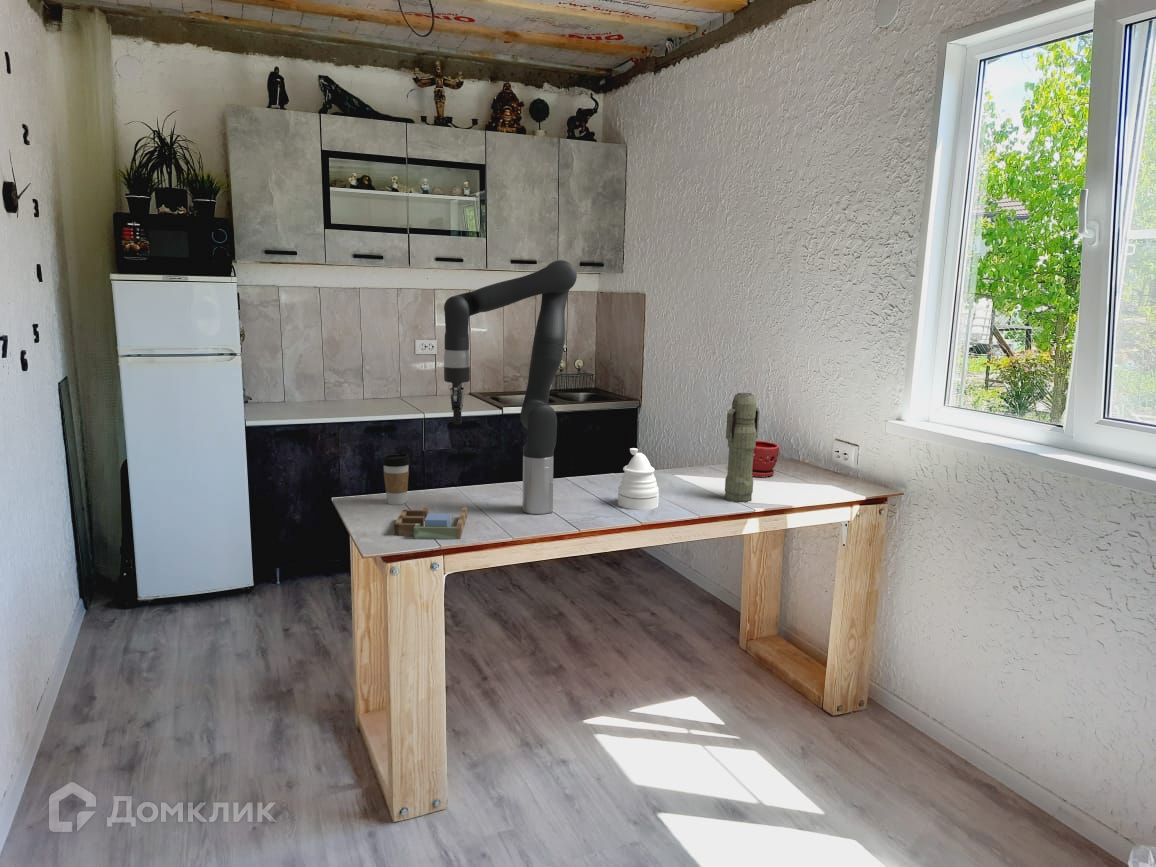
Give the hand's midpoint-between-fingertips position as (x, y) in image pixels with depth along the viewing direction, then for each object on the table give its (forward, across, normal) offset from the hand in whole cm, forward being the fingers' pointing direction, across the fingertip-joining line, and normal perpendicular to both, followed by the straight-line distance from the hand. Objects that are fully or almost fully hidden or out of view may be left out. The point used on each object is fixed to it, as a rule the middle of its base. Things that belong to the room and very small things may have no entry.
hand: (457, 423), depth 231 cm
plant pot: (+28, +52, -107) cm, 122 cm away
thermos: (+27, +17, -90) cm, 96 cm away
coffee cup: (+27, +10, +20) cm, 35 cm away
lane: (+27, -16, +6) cm, 32 cm away
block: (+27, -22, +4) cm, 35 cm away
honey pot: (+27, +10, -56) cm, 63 cm away
